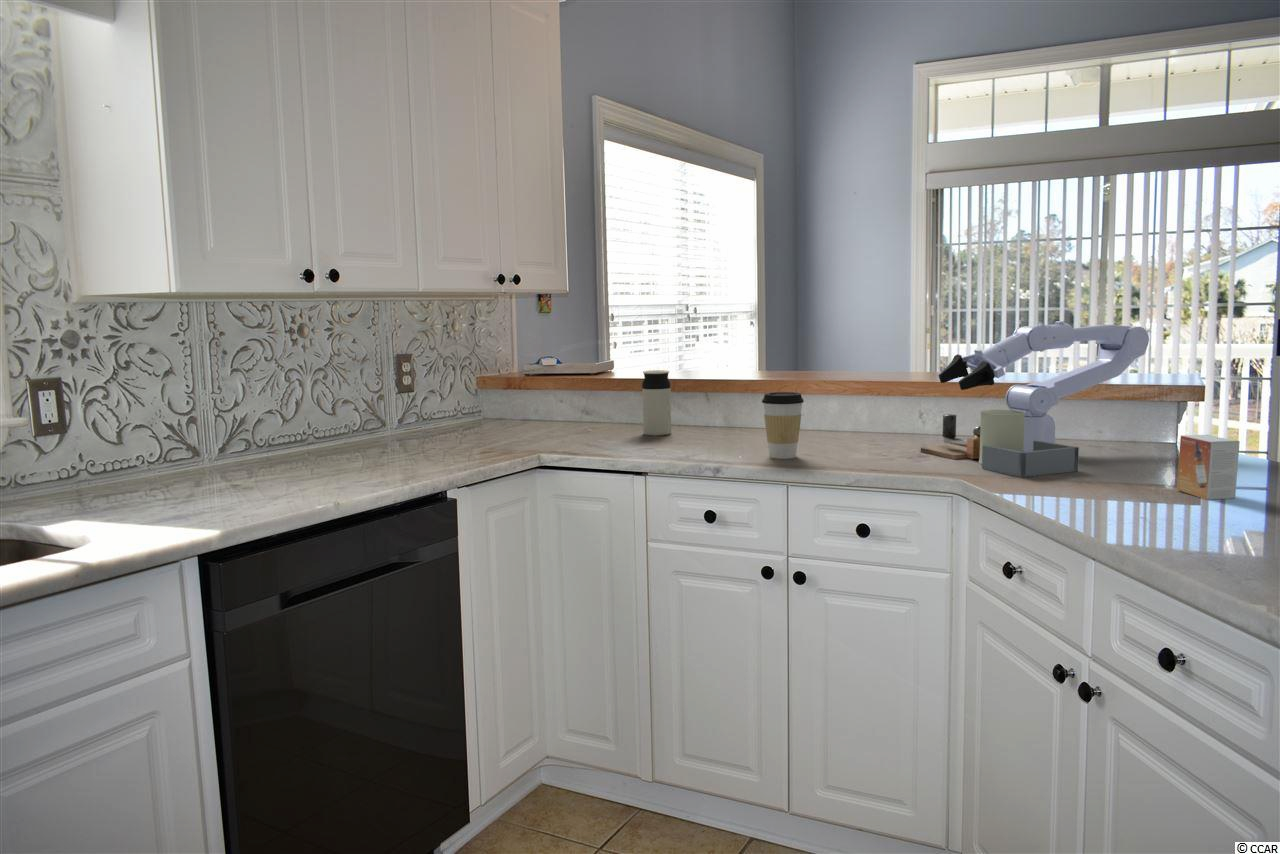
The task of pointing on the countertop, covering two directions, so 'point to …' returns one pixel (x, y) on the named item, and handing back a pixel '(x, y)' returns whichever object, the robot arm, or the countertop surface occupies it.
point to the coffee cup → (782, 423)
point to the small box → (1208, 466)
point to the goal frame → (1031, 459)
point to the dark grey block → (970, 443)
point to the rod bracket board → (947, 451)
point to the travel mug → (656, 403)
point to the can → (1002, 429)
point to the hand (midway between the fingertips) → (950, 382)
